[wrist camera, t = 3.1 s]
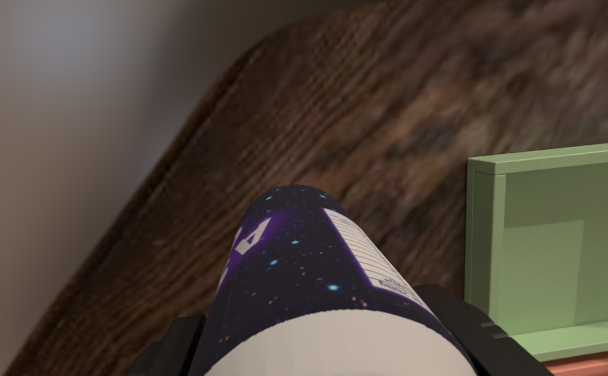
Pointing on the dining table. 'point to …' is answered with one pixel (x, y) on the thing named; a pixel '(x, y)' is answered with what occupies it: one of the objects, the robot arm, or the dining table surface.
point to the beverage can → (317, 301)
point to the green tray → (541, 247)
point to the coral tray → (579, 365)
